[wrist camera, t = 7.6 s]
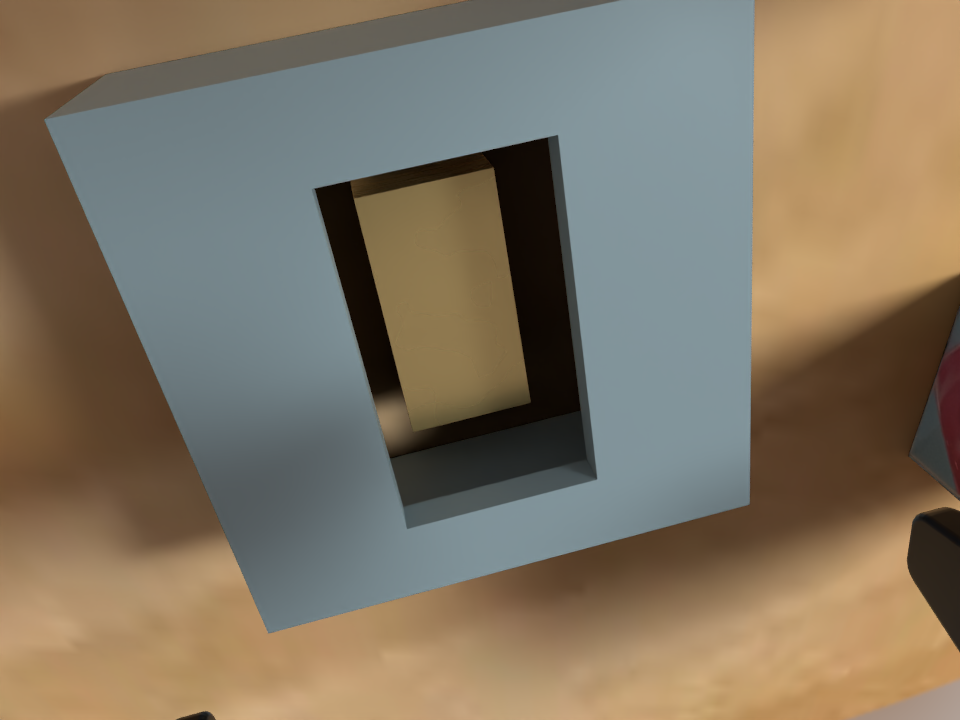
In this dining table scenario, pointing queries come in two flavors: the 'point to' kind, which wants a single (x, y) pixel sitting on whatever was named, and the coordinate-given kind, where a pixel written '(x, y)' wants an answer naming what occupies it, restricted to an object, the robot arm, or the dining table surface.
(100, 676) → the dining table surface
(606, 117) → the blue-grey hollow frame
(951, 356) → the juice carton
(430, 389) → the tan wooden post
